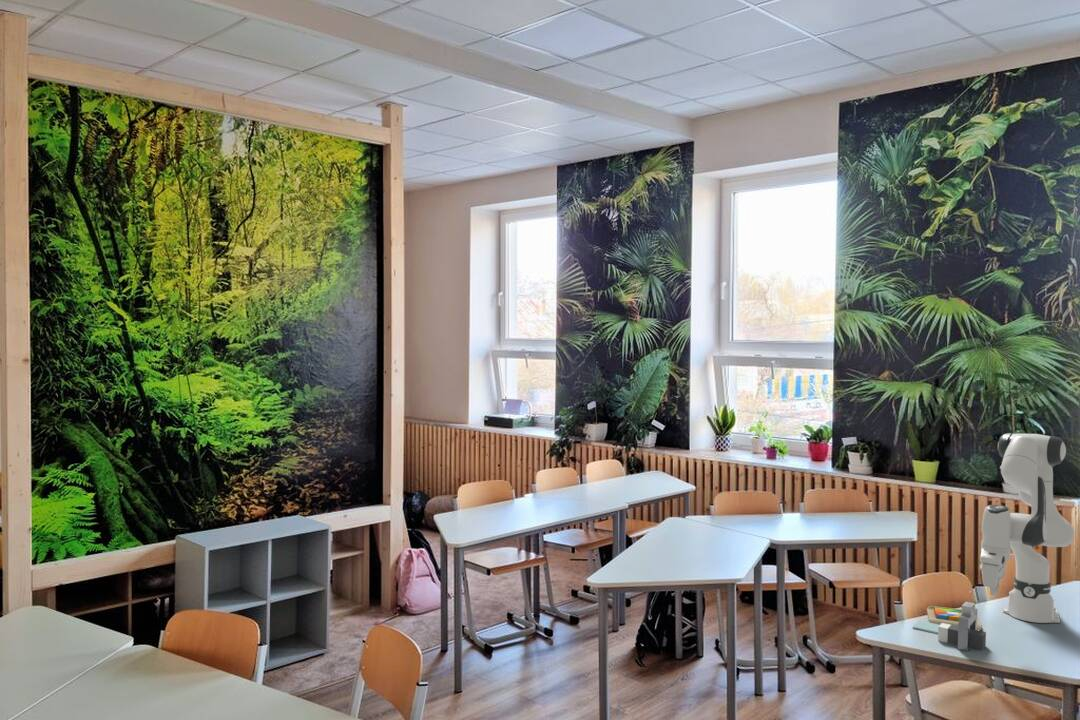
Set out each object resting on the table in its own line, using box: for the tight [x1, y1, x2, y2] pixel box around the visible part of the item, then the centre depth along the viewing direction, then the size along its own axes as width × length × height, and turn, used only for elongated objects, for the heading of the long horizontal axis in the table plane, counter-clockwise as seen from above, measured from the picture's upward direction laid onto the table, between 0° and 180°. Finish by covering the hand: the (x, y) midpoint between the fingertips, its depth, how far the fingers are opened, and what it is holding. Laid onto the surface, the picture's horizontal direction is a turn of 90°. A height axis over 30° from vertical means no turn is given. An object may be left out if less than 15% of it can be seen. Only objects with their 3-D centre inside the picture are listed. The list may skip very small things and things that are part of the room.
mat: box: [912, 620, 940, 635], centre depth 306 cm, size 9×18×1 cm, turn 51°
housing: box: [957, 601, 978, 652], centre depth 292 cm, size 14×3×14 cm, turn 141°
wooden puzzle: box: [926, 605, 983, 631], centre depth 318 cm, size 18×19×4 cm
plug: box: [937, 623, 987, 651], centre depth 293 cm, size 5×14×5 cm, turn 52°
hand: (994, 594), depth 287 cm, fingers closed
